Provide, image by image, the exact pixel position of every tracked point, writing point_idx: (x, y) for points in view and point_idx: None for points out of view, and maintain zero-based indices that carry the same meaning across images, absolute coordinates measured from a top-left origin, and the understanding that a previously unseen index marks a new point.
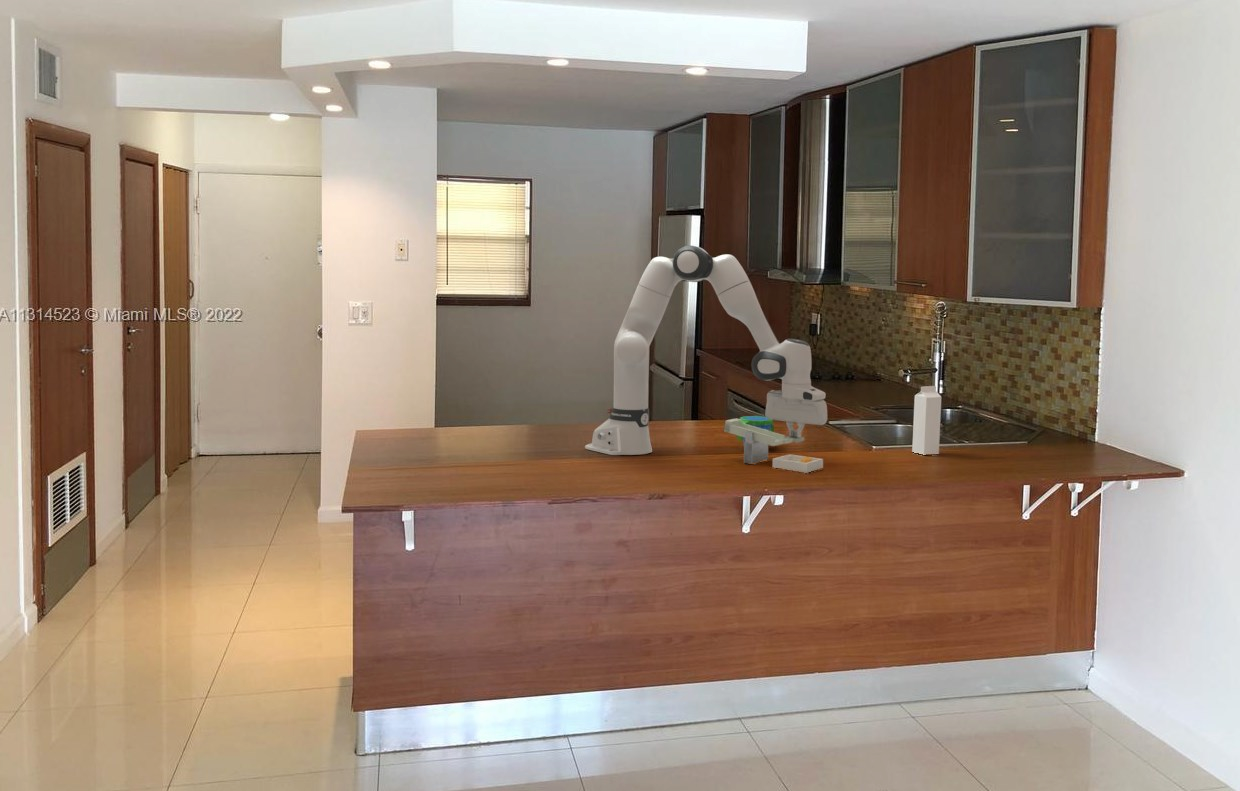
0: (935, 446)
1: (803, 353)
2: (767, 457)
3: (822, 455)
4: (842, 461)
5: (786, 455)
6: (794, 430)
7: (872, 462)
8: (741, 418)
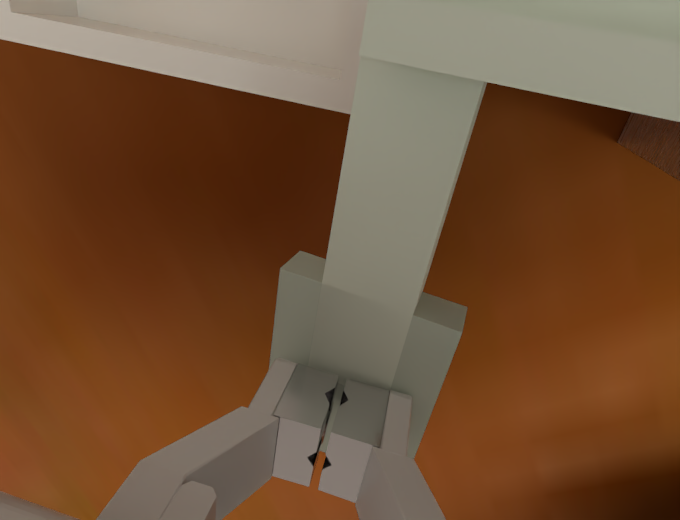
0: None
1: None
2: (635, 139)
3: None
4: (133, 354)
5: (365, 10)
6: (339, 476)
7: (24, 379)
8: None
